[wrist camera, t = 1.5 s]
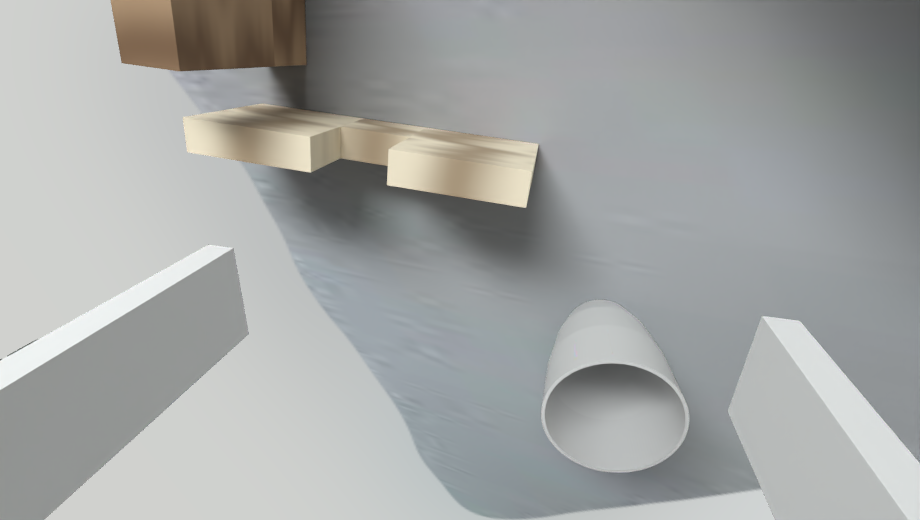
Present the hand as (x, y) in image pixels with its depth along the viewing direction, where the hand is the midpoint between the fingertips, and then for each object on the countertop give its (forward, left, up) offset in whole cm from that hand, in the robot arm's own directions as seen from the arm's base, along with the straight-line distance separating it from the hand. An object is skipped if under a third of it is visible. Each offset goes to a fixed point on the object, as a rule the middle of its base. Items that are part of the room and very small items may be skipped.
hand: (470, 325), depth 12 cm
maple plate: (0, -9, -22) cm, 24 cm away
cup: (+12, +8, -22) cm, 27 cm away
